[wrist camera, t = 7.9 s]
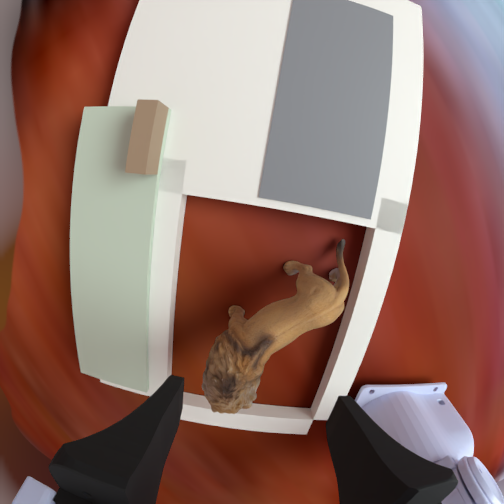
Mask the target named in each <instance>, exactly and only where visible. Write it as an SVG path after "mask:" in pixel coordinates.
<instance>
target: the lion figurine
mask: <svg viewBox="0 0 504 504" xmlns="http://www.w3.org/2000/svg"><path fill="white" fill-rule="evenodd" d="M344 246H345V240H344V239H342V240H341V241H340V242H339V243H338V245H337V248H336V258H337V263H338V268H335V269H333V270H332V271H331V272H330V273H329V280H330V281H333V282H335V284H334V285H332V284H331V283H330V282H328V281H327V280H326V279H324V278H322V277H320V276H318V275H316V274H314V273H313V272H312V267H311V266H310V265H306V264H302V263H299V262H297V261H288V262H286V263H285V264H284V267H283V268H284V271H285V272H286V273H287V275H294V274H296V273H298V272H299V275H298V278H297V280H296V287H297V294H296V295H295V296H293V297H291V298H287V299H283V300H279V301H276V302H273V303H271V304H269V305H267V306H266V307H264V308H262V309H261V310H260V311H258V312H257V313H256V314H255V315H254V316H252V317H251V318H250V319H249V320H247V319H245V318H244V314H245V311H244V310H243V309H242V308H241V307H240V306H236V305H233V306H231V307H230V308H229V311H228V313H229V316H230V317H231V319H230V320H229V324H228V326H229V329H228V330H225V331H224V332H223V333H222V334H221V335H219V336H217V337H216V339H215V344H214V345H213V346H212V348H211V351H210V352H209V357H208V359H207V361H206V369H205V372H204V373H203V384H202V389H203V390H204V394H205V397H206V399H207V400H208V402H209V404H210V405H211V410H212V412H214V413H215V412H219V413H221V414H222V413H228V414H231V413H232V414H235V413H237V412H238V411H239V410H240V409H248V408H250V407H251V406H252V401H254V400H255V399H256V396H257V395H256V391H257V388H258V385H259V384H260V376H261V375H262V373H263V369H264V364H265V363H266V362H267V361H268V359H269V358H270V355H271V354H273V353H274V352H276V351H278V350H279V349H281V348H283V347H285V346H286V345H288V344H289V343H291V342H292V341H293V340H295V339H296V338H297V337H298V336H300V335H301V334H303V333H305V332H306V331H309V330H312V329H316V328H320V327H323V326H326V325H329V324H331V323H332V322H334V321H335V320H336V319H337V318H338V317H339V316H340V315H341V313H342V312H343V310H344V300H345V298H346V296H347V294H348V290H349V277H348V273H347V270H346V267H345V264H344V260H343V250H344Z"/></svg>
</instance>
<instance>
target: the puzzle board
mask: <svg viewBox="0 0 504 504" xmlns="http://www.w3.org/2000/svg"><path fill="white" fill-rule="evenodd" d="M422 89H423V25H422V9H421V6H419V5H417V4H415V3H412V2H410V1H408V0H139V3H138V5H137V8H136V11H135V13H134V16H133V19H132V22H131V24H130V27H129V30H128V33H127V36H126V39H125V43H124V46H123V49H122V52H121V56H120V59H119V63H118V66H117V70H116V74H115V78H114V81H113V86H112V90H111V94H110V98H109V103H108V106H135V107H136V105H137V100H138V99H143V100H159V101H160V102H162V103H163V104H164V105H166V106H167V107H168V108H170V109H171V115H170V121H169V126H168V131H167V137H166V143H165V149H164V155H163V161H162V168H161V175H160V182H159V189H158V197H157V206H156V214H155V224H154V234H153V246H152V258H151V274H150V293H149V324H148V367H149V389H148V392H147V393H146V392H142V391H139V390H135V389H131V388H128V387H124V386H121V385H118V384H114V383H111V382H108V381H105V380H102V379H100V382H102V383H105V384H108V385H111V386H114V387H118V388H121V389H125V390H128V391H131V392H135V393H139V394H142V395H146V396H151V395H152V394H153V393H154V392H155V391H156V390H157V389H158V388H159V387H160V386H161V385H162V384H163V383H164V382H165V380H166V379H167V378H168V377H169V376H170V375H171V374H172V349H173V330H174V314H175V301H176V288H177V277H178V266H179V256H180V247H181V238H182V230H183V221H184V213H185V206H186V199H187V195H192V196H199V197H206V198H212V199H219V200H225V201H232V202H238V203H244V204H250V205H256V206H262V207H268V208H273V209H279V210H285V211H290V212H296V213H301V214H306V215H311V216H317V217H322V218H327V219H332V220H337V221H342V222H347V223H352V224H356V225H361V226H366V227H367V228H366V232H365V237H364V241H363V245H362V249H361V253H360V257H359V261H358V265H357V269H356V273H355V277H354V280H353V284H352V288H351V291H350V295H349V298H348V302H347V305H346V308H345V312H344V315H343V318H342V322H341V325H340V328H339V331H338V334H337V337H336V340H335V343H334V346H333V349H332V352H331V355H330V358H329V361H328V364H327V366H326V369H325V372H324V375H323V377H322V380H321V383H320V386H319V388H318V391H317V393H316V396H315V398H314V401H313V403H312V406H311V408H299V407H285V406H274V405H264V404H255V403H252V406H251V407H250V408H248V409H240V410H239V411H238V412H237V413H235V414H232V413H231V414H228V413H222V414H221V413H219V412H215V413H214V412H212V410H211V405H210V404H209V402H208V400H207V399H206V397H205V396H202V395H196V394H191V393H186V392H183V409H182V413H181V418H180V419H182V420H186V421H191V422H197V423H202V424H208V425H214V426H220V427H227V428H234V429H242V430H250V431H260V432H271V433H286V434H307V432H308V430H309V428H310V426H311V424H312V421H313V420H328V418H329V416H330V414H331V412H332V410H333V407H334V405H335V403H336V401H337V398H338V396H347V394H348V392H349V390H350V388H351V385H352V383H353V381H354V378H355V376H356V374H357V371H358V369H359V366H360V364H361V361H362V359H363V356H364V354H365V351H366V349H367V346H368V343H369V341H370V338H371V335H372V333H373V330H374V327H375V324H376V321H377V318H378V315H379V312H380V309H381V306H382V303H383V300H384V297H385V294H386V290H387V287H388V284H389V280H390V277H391V273H392V270H393V266H394V263H395V259H396V255H397V251H398V247H399V243H400V239H401V235H402V231H403V226H404V222H405V217H406V212H407V208H408V203H409V197H410V192H411V186H412V181H413V174H414V168H415V161H416V154H417V146H418V138H419V129H420V118H421V106H422Z"/></svg>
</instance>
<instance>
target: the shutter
mask: <svg viewBox="0 0 504 504" xmlns="http://www.w3.org/2000/svg"><path fill="white" fill-rule="evenodd" d="M170 115H171V109H170V108H168V107H167V106H166V105H164V104H163V103H162V102H160V101H159V100H143V99H138V100H137V105H136V107H135V106H100V107H84V111H83V116H82V122H81V127H80V133H79V139H78V145H77V152H76V159H75V168H74V177H73V187H72V200H71V218H70V279H71V297H72V310H73V320H74V329H75V337H76V345H77V352H78V358H79V364H80V370H81V373H84V374H87V375H90V376H93V377H96V378H99V379H102V380H105V381H108V382H111V383H114V384H118V385H121V386H124V387H128V388H131V389H135V390H139V391H142V392H146V393H147V392H148V389H149V367H148V324H149V293H150V274H151V258H152V246H153V234H154V224H155V214H156V206H157V197H158V189H159V182H160V175H161V168H162V161H163V155H164V149H165V143H166V137H167V131H168V126H169V121H170Z"/></svg>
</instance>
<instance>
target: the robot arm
mask: <svg viewBox="0 0 504 504" xmlns="http://www.w3.org/2000/svg"><path fill="white" fill-rule="evenodd" d="M446 388H447V385H446V383H445V382H442V383H426V384H402V385H364V386H362V387H361V388H360V390H359V392H358V394H357V396H356V399H355V400H354V399H353V398H352V397H351V396H338V398H337V401H336V403H335V405H334V407H333V410H332V412H331V414H330V416H329V418H328V420H327V422H326V433H327V441H328V446H329V450H330V454H331V457H332V461H333V465H334V469H335V473H336V477H337V482H338V490H339V501H340V504H504V497H503V495H502V493H501V491H500V489H499V487H498V485H497V484H496V482H495V480H494V479H493V477H492V476H491V474H490V473H489V472H488V470H487V469H486V468H485V466H484V465H483V464H482V463H481V462H480V461H479V460H478V459H477V458H476V457H473V452H474V441H473V436H472V433H471V431H470V429H469V427H468V426H467V425H466V423H465V422H464V420H463V419H462V418H461V416H460V415H459V413H458V412H457V411H456V409H455V408H454V407H453V405H452V404H451V402H450V401H449V400H448V398H447V397H446V396H445V394H444V392H445V390H446ZM370 390H372V391H370ZM183 391H184V378H183V377H178V376H174V375H170V376H169V377H168V378H167V379H166V380H165V382H164V383H163V384H162V385H161V386H160V387H159V388H158V389H157V390H156V391H155V392H154V393H153V394H152V395H151V396H150V397H149V398H148V399H147V400H146V401H145V402H144V403H143V404H142V405H140V406H139V407H138V408H137V409H136V410H134V411H133V412H132V413H130V414H129V415H128V416H126V417H125V418H123V419H122V420H120V421H119V422H117V423H115V424H114V425H112V426H110V427H108V428H106V429H104V430H102V431H100V432H98V433H95V434H93V435H91V436H88V437H86V438H83V439H80V440H76V441H73V442H69V443H65V444H63V446H62V447H61V448H60V449H59V450H58V452H57V453H56V454H55V456H54V458H53V459H52V461H51V463H50V465H49V470H50V473H51V475H52V476H53V478H54V479H55V481H56V482H57V484H58V485H59V487H60V488H59V490H58V492H57V493H56V492H55V491H54V490H53V489H51V488H50V487H48V486H46V485H44V484H42V483H41V482H39V481H37V480H35V479H33V478H32V477H29V476H28V477H27V478H26V480H25V482H24V483H23V485H22V486H21V488H20V490H19V492H18V493H17V495H16V497H15V498H14V500H13V502H12V504H156V499H157V494H158V489H159V485H160V480H161V476H162V472H163V468H164V465H165V461H166V459H167V456H168V453H169V451H170V448H171V445H172V442H173V440H174V437H175V434H176V432H177V429H178V426H179V422H180V418H181V413H182V409H183Z"/></svg>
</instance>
